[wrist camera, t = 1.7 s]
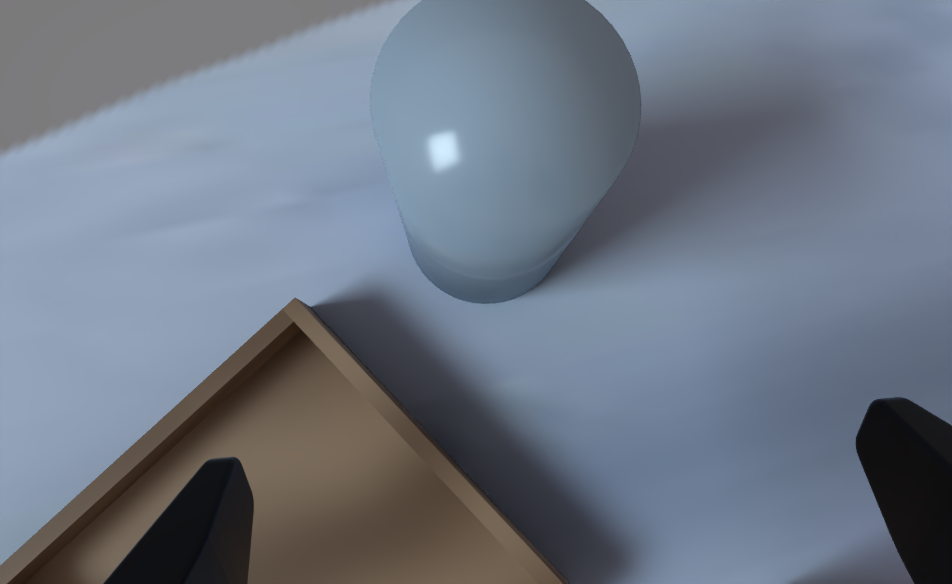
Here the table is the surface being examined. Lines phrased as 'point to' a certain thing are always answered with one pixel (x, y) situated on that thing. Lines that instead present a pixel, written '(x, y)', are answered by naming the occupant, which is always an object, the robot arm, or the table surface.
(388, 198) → the table surface
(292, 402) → the tray
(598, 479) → the table surface
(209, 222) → the table surface
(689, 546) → the table surface
